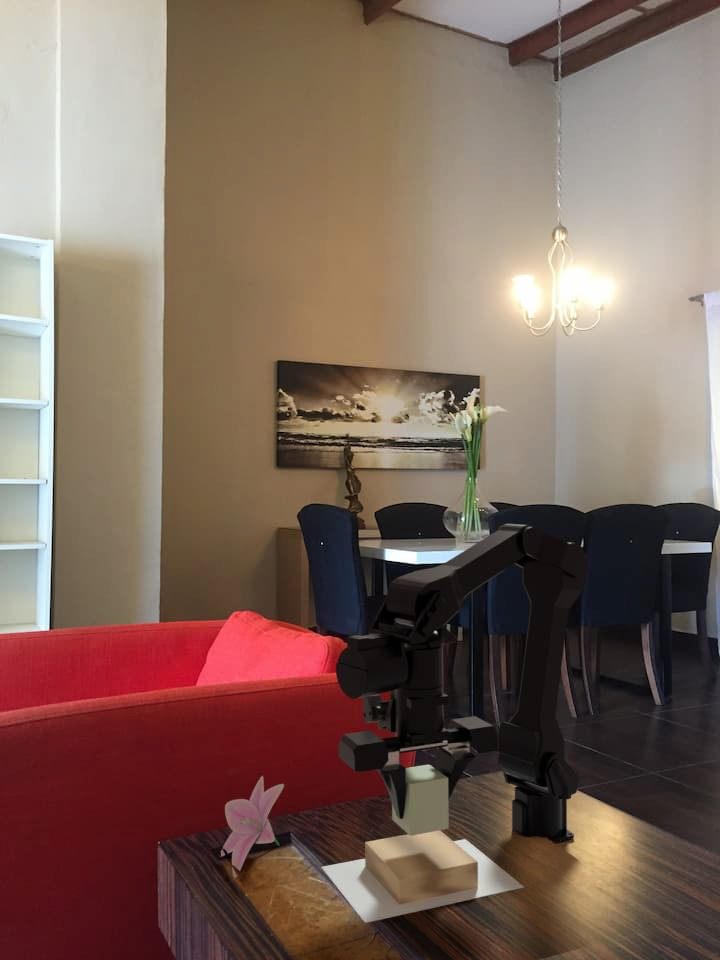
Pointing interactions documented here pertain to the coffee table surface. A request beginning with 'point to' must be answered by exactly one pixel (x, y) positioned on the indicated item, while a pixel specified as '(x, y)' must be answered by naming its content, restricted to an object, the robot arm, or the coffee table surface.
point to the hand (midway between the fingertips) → (420, 814)
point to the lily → (250, 822)
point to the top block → (424, 801)
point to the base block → (420, 866)
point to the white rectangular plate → (380, 904)
